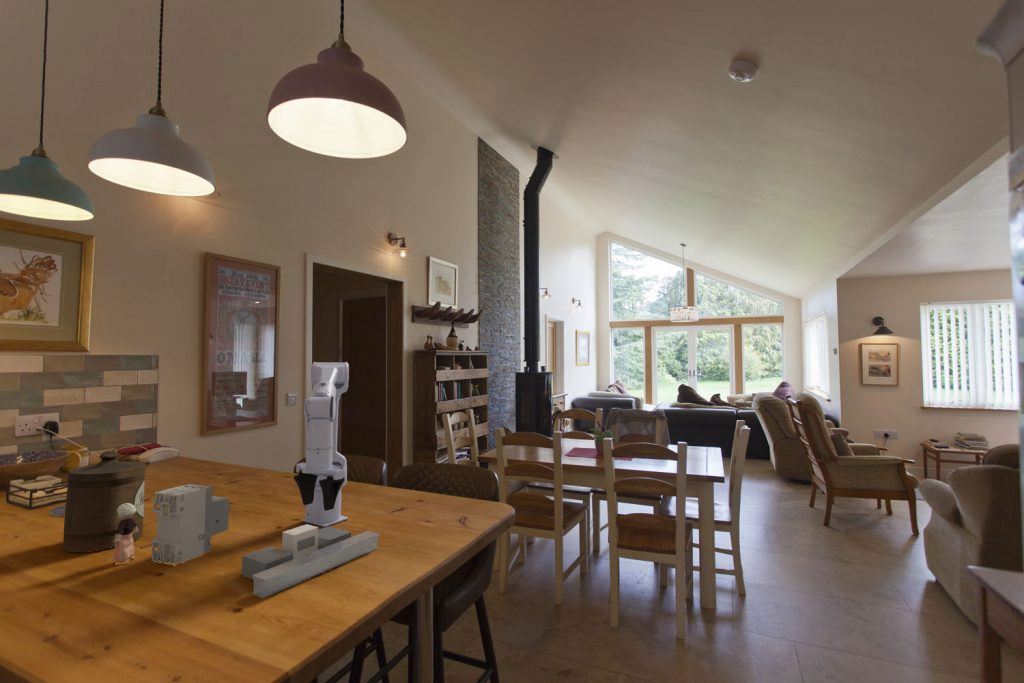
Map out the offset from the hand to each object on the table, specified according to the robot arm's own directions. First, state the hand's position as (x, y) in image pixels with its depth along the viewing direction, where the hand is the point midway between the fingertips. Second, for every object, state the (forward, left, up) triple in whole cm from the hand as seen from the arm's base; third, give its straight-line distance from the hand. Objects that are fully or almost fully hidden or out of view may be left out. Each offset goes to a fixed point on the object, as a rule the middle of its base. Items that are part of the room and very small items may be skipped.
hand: (318, 506), depth 110 cm
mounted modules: (+2, -6, -10) cm, 12 cm away
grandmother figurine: (-31, -26, -10) cm, 42 cm away
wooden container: (-50, -23, -11) cm, 56 cm away
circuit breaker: (-24, -15, -11) cm, 30 cm away
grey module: (+2, -6, -10) cm, 12 cm away
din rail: (+9, -6, -10) cm, 15 cm away
